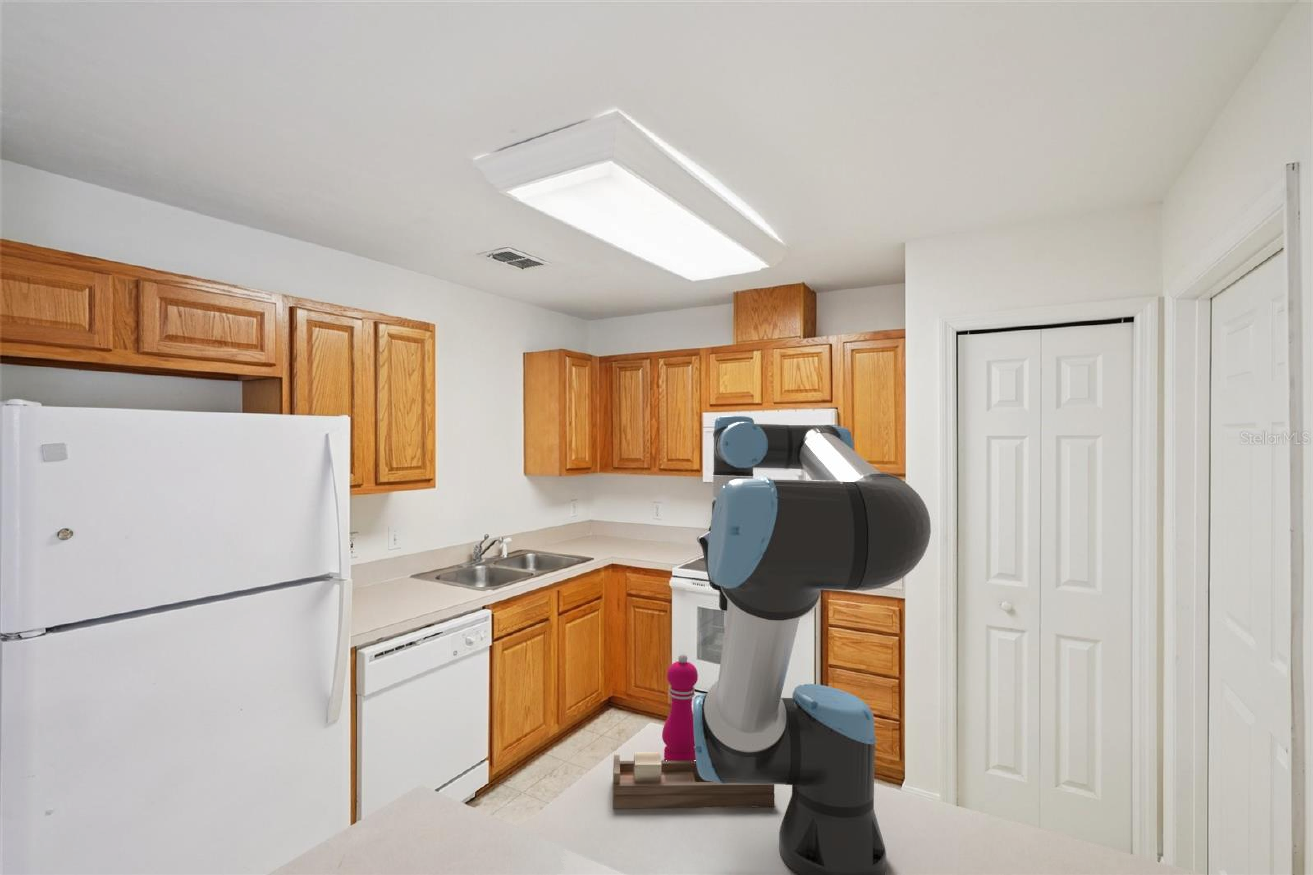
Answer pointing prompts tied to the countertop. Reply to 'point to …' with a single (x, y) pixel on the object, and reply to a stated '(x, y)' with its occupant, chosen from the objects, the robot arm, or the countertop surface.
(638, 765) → the birch block
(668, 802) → the channel
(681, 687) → the pepper mill
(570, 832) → the countertop surface
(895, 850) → the countertop surface
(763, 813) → the countertop surface
